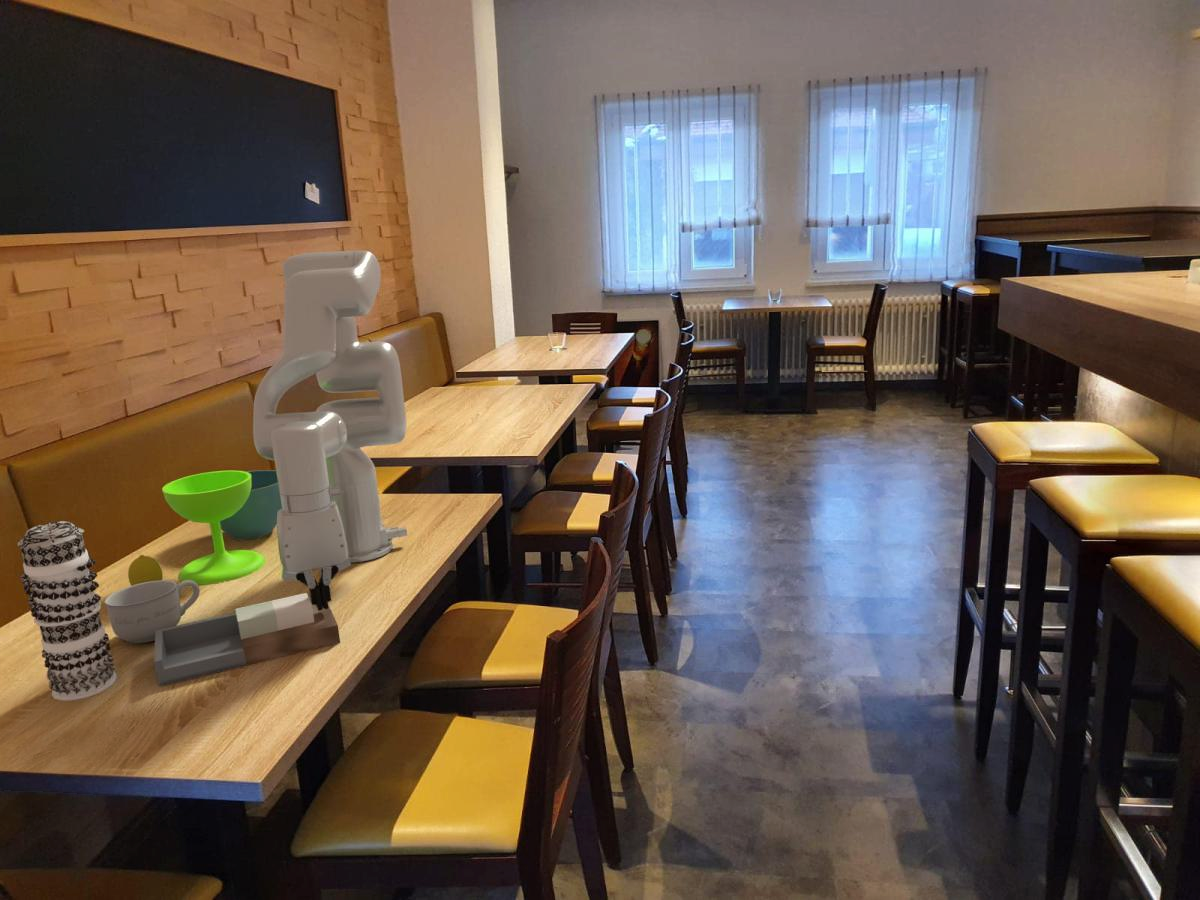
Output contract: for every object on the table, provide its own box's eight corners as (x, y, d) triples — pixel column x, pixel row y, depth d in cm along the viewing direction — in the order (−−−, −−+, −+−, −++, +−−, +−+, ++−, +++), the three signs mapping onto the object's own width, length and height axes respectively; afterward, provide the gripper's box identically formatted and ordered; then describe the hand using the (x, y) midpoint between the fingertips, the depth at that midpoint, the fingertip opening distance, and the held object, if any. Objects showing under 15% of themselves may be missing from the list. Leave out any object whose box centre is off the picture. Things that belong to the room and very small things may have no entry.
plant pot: (190, 541, 188) (180, 487, 185) (260, 516, 203) (252, 466, 200) (242, 553, 179) (233, 497, 175) (312, 526, 193) (304, 474, 190)
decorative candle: (97, 665, 134) (63, 513, 127) (133, 677, 129) (99, 520, 123) (36, 693, 126) (-4, 533, 120) (71, 707, 121) (32, 542, 115)
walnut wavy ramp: (328, 614, 147) (325, 598, 146) (340, 642, 137) (337, 624, 136) (240, 634, 141) (237, 617, 141) (246, 665, 131) (243, 647, 130)
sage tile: (274, 617, 140) (271, 600, 139) (278, 630, 135) (275, 613, 134) (238, 625, 138) (235, 608, 137) (241, 639, 133) (237, 621, 132)
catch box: (240, 634, 141) (236, 612, 140) (246, 665, 131) (242, 641, 130) (160, 653, 136) (155, 630, 135) (159, 686, 126) (154, 662, 125)
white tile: (309, 609, 142) (306, 592, 142) (314, 621, 137) (311, 604, 137) (274, 617, 140) (271, 600, 139) (278, 630, 135) (275, 613, 134)
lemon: (152, 602, 157) (144, 561, 154) (126, 601, 158) (117, 560, 156) (172, 589, 162) (164, 550, 160) (147, 588, 163) (139, 549, 161)
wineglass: (281, 554, 177) (268, 470, 172) (232, 586, 162) (216, 495, 157) (214, 552, 181) (199, 470, 176) (160, 582, 166) (142, 493, 161)
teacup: (112, 656, 136) (102, 610, 134) (114, 630, 146) (105, 587, 144) (207, 634, 142) (199, 589, 140) (203, 610, 152) (195, 568, 150)
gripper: (349, 485, 142) (363, 588, 147) (253, 502, 136) (271, 609, 140) (358, 497, 136) (373, 604, 140) (258, 515, 129) (276, 626, 134)
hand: (322, 606), depth 140 cm, fingers closed
